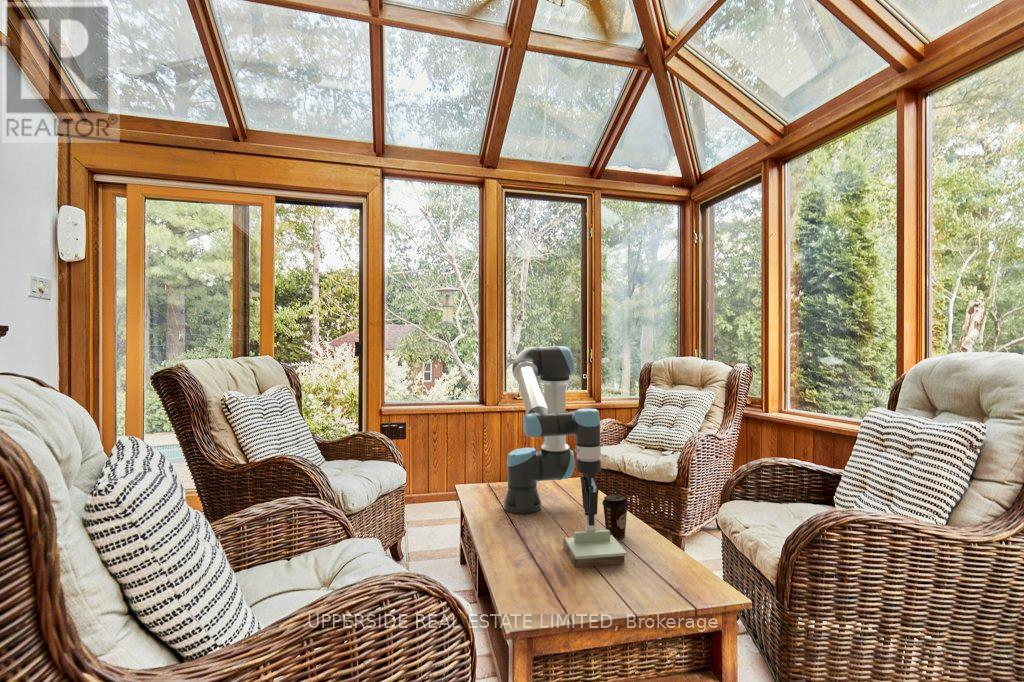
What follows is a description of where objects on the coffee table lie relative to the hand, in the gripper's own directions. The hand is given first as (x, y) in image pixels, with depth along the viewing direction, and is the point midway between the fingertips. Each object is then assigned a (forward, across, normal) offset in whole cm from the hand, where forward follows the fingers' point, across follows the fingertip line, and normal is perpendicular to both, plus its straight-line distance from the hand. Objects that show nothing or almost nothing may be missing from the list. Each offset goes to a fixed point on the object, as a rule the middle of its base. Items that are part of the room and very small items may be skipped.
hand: (590, 534), depth 156 cm
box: (+6, +2, 0) cm, 6 cm away
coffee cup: (+6, -12, +12) cm, 18 cm away
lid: (+2, +5, 0) cm, 5 cm away
